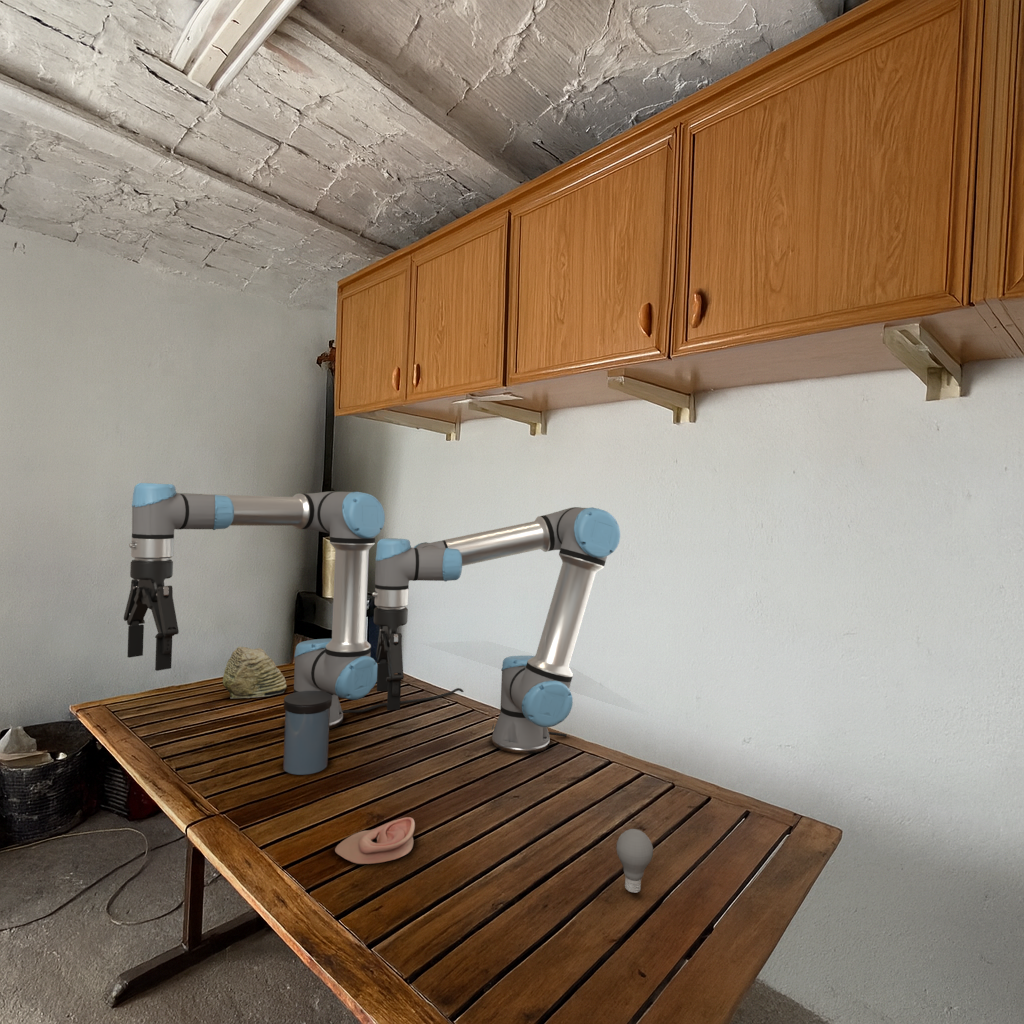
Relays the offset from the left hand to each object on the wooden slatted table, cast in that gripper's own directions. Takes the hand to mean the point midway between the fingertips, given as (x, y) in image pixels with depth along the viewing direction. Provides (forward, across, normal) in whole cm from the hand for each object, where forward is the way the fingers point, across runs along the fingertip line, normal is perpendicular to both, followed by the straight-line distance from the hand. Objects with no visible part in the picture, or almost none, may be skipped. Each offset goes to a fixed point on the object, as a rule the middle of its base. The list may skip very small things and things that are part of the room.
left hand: (148, 662), depth 129 cm
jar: (+28, +9, +32) cm, 43 cm away
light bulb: (+28, +90, +41) cm, 103 cm away
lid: (+12, +9, +32) cm, 35 cm away
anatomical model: (+28, +49, +20) cm, 60 cm away
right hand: (+10, +27, +40) cm, 50 cm away
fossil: (+28, -47, +50) cm, 74 cm away
